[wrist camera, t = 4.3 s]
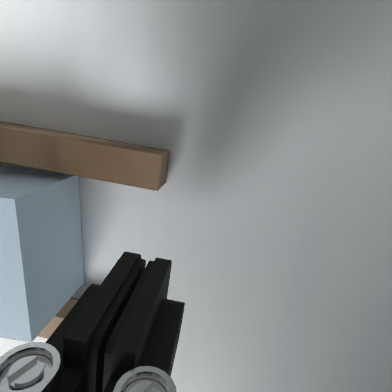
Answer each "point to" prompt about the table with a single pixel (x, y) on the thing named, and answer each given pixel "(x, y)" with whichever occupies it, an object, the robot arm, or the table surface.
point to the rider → (37, 249)
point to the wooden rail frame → (82, 166)
